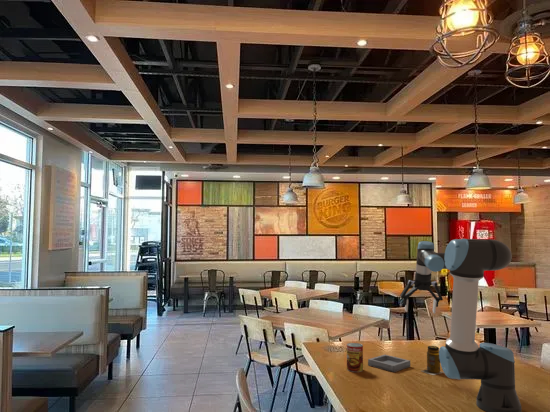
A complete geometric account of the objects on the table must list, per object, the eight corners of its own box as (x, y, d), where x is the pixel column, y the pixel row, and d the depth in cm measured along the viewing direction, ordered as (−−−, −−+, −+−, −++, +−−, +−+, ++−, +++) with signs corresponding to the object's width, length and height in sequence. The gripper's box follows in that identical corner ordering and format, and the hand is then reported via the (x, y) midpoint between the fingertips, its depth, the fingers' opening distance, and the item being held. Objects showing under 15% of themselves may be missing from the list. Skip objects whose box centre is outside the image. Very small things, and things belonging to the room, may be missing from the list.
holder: (393, 372, 200) (393, 365, 201) (368, 365, 212) (368, 359, 212) (410, 366, 210) (410, 360, 211) (385, 360, 222) (385, 354, 222)
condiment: (444, 372, 201) (443, 347, 202) (433, 375, 197) (432, 349, 198) (431, 368, 207) (430, 344, 208) (420, 371, 203) (420, 346, 204)
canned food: (344, 370, 202) (344, 345, 203) (349, 366, 209) (349, 342, 210) (360, 373, 199) (360, 347, 200) (364, 368, 205) (364, 344, 207)
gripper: (447, 270, 207) (443, 309, 212) (396, 268, 210) (393, 306, 215) (452, 276, 200) (447, 316, 205) (399, 273, 203) (395, 313, 208)
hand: (419, 311), depth 210 cm, fingers open, 13 cm apart
